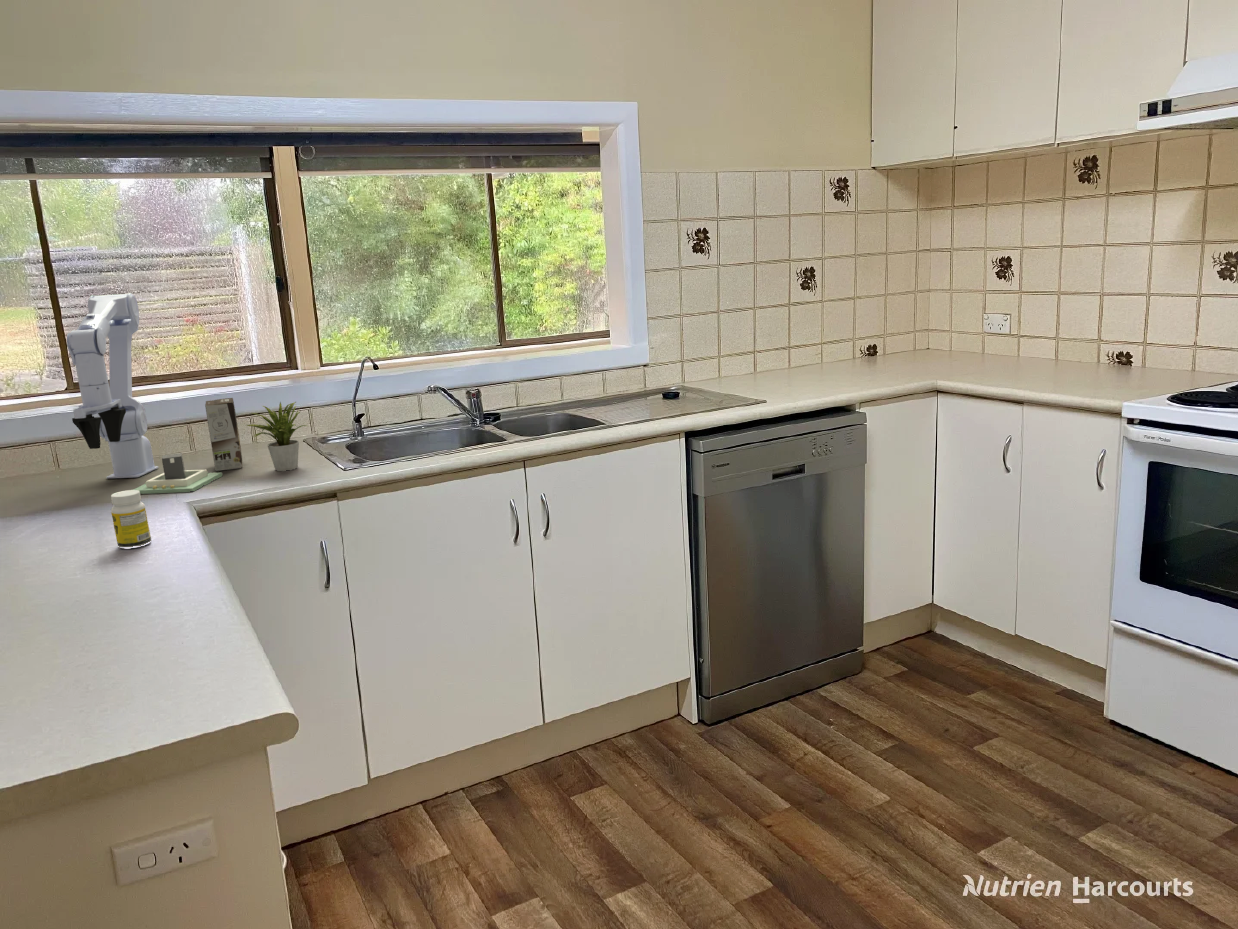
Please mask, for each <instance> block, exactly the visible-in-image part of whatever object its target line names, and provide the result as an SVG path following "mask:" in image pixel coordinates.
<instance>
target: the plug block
mask: <svg viewBox="0 0 1238 929" xmlns="http://www.w3.org/2000/svg"><path fill="white" fill-rule="evenodd" d="M161 461H162V468H163V473H164V475H165V480H169V479H185V478H186V475H185V470H186V469H185V464H184V458H183V453H182V452H180V453H170V454H163V455H162V456H161Z"/></svg>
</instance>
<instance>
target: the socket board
mask: <svg viewBox="0 0 1238 929" xmlns="http://www.w3.org/2000/svg"><path fill="white" fill-rule="evenodd" d="M185 475H186V478H185V479H169V480H165V475H164V472H163V473H161V474H158V475H156V476H154V477H152V478H150V479H148V480H146V481H145V483H144V484H142V485H140V486H138V487H136V488H133V490H138V491H140V495H141V494H142V495H146V494H167V493H168V494H172V493H174V494H175V493H191V492H190V491H194V492H195V491H197V490H198V489H201V488H202V486H203V485H205V486H206V485H208V484H210V483H212V482H214V481H215V480H214V479H216V480H218V479H219V478H221V477H223V472H222V471H221V472H208V470H207V469H206V468H205V469H188V470H187V469H185ZM213 480H214V481H213ZM211 481H212V482H211ZM203 487H204V486H203Z"/></svg>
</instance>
